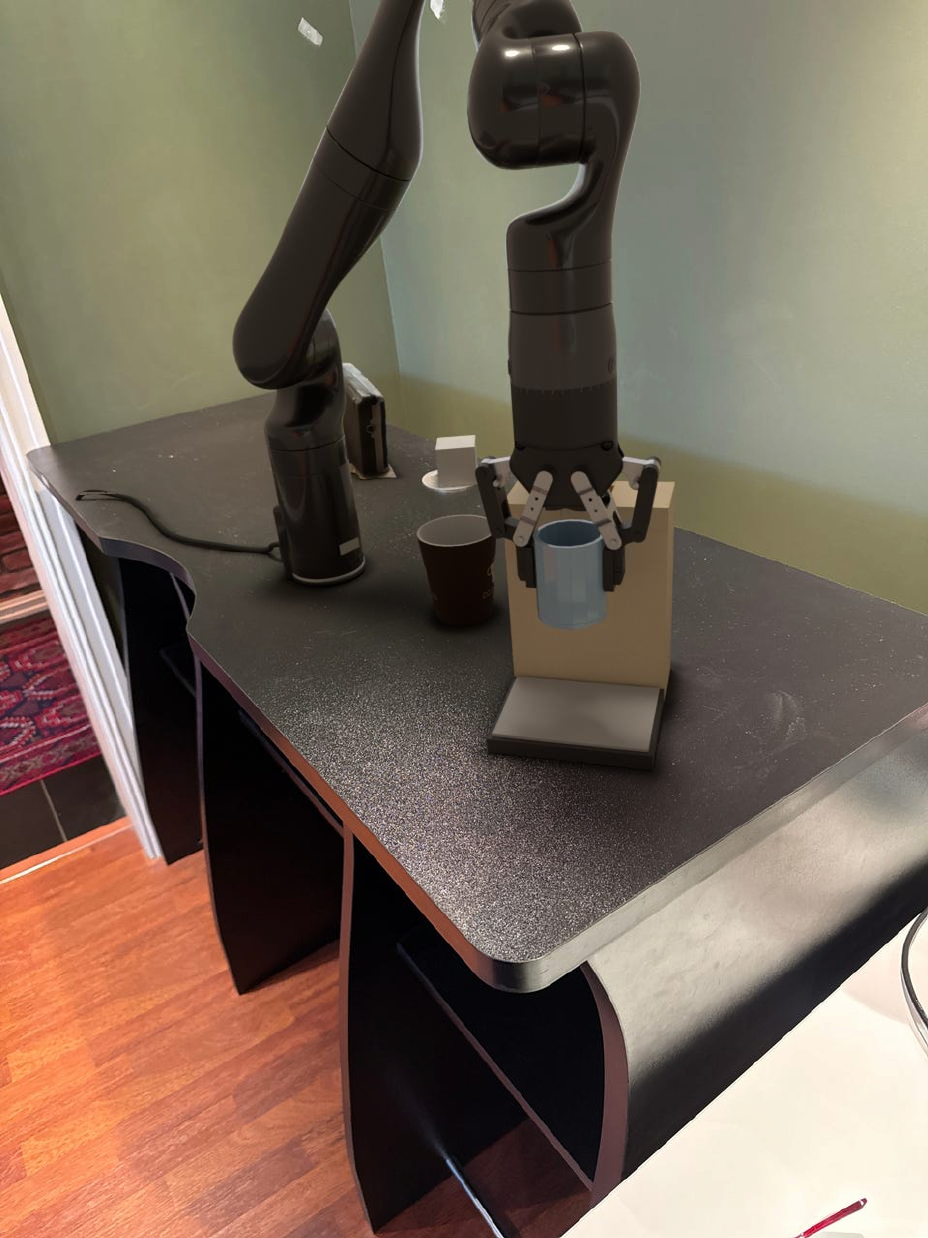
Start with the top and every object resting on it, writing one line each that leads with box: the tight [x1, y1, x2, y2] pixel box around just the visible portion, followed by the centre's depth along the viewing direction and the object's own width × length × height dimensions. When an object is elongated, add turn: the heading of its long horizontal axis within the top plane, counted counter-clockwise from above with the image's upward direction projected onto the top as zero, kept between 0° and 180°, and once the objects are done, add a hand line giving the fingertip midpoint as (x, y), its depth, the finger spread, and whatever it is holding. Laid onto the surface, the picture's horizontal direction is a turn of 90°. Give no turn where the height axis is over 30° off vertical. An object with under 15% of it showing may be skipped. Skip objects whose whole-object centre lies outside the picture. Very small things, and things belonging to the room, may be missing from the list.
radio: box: [342, 362, 397, 480], centre depth 148 cm, size 23×9×15 cm, turn 12°
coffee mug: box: [416, 514, 497, 627], centre depth 98 cm, size 12×9×10 cm
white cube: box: [434, 434, 479, 488], centre depth 137 cm, size 6×6×6 cm
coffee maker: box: [486, 480, 676, 771], centre depth 76 cm, size 14×16×19 cm
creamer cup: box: [533, 519, 608, 630], centre depth 70 cm, size 6×6×7 cm
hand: (571, 584), depth 70 cm, fingers closed on creamer cup, 5 cm apart
